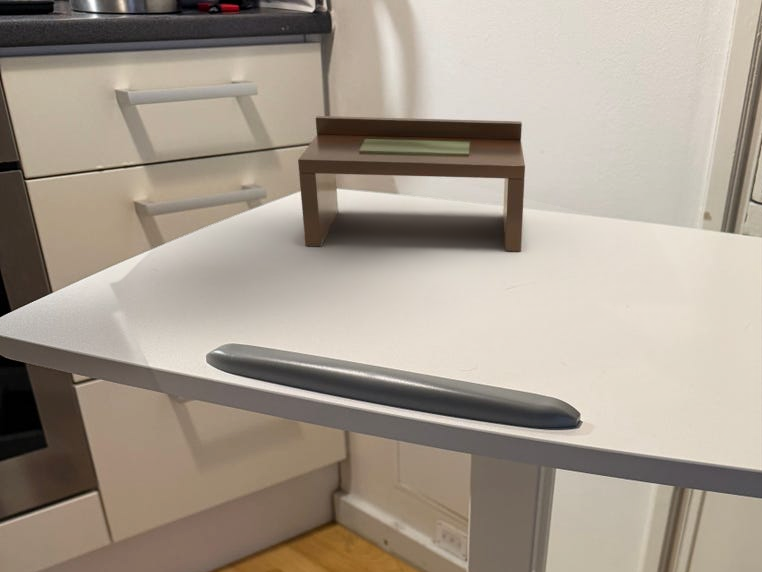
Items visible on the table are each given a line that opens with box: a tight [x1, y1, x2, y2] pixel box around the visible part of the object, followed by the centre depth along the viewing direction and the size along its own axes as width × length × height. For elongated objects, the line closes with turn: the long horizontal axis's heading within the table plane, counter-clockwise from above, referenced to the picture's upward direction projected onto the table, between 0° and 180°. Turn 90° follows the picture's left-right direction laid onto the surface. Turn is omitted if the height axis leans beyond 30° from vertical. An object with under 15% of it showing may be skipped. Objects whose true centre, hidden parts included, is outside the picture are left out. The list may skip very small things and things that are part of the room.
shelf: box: [297, 115, 526, 252], centre depth 97 cm, size 14×22×10 cm, turn 90°
